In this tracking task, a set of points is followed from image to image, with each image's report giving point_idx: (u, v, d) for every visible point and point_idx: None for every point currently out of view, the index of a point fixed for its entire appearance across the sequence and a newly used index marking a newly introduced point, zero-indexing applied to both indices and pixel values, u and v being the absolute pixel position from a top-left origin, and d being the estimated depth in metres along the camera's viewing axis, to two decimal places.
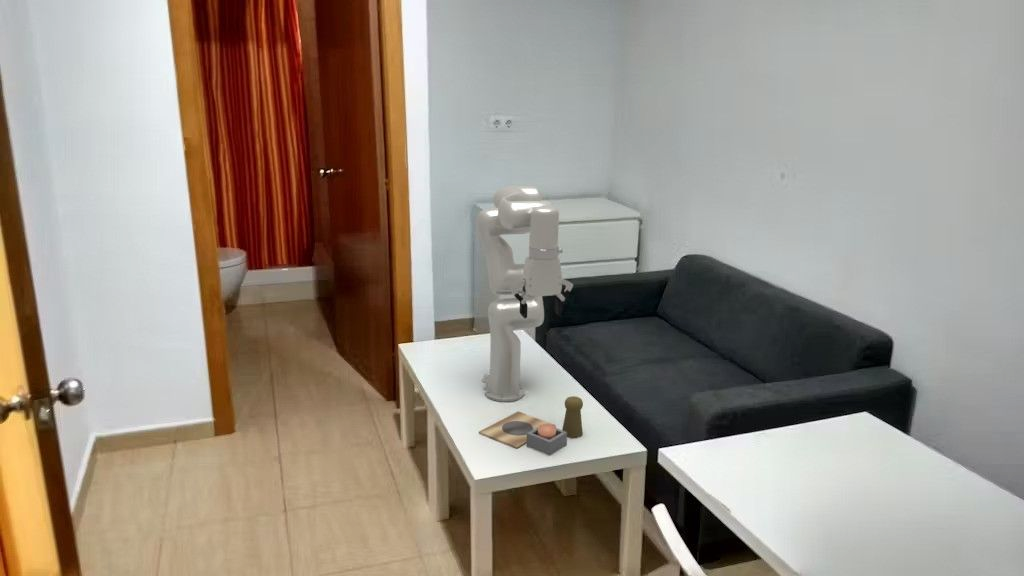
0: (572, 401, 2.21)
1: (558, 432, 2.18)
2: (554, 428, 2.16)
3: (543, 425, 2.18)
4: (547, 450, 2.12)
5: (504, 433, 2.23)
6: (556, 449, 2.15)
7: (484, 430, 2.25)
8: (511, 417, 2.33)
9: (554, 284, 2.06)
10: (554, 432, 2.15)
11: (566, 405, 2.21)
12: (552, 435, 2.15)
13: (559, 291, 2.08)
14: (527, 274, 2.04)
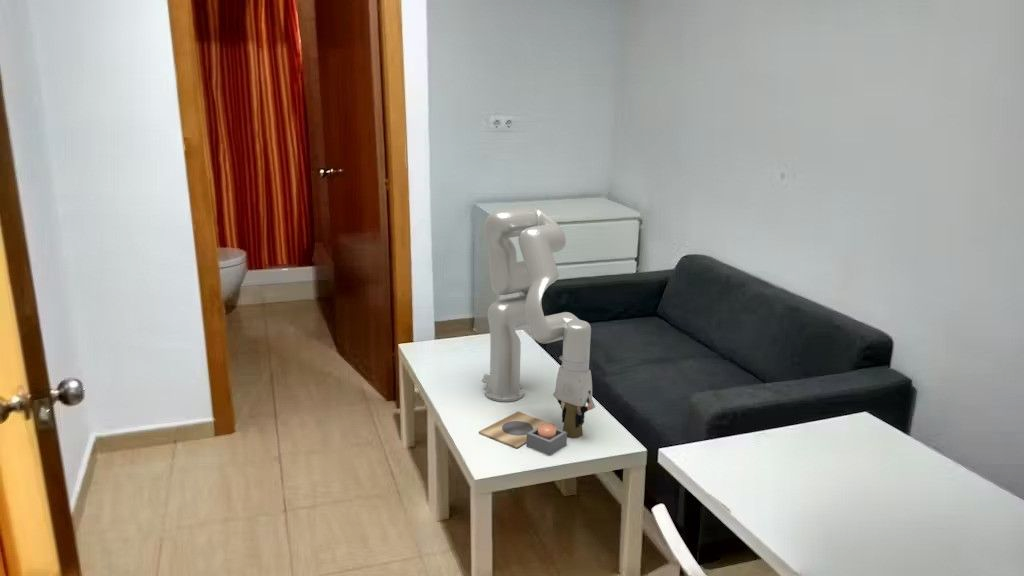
0: None
1: (558, 432, 2.18)
2: (554, 428, 2.16)
3: (543, 425, 2.18)
4: (547, 450, 2.12)
5: (504, 433, 2.23)
6: (556, 449, 2.15)
7: (484, 430, 2.25)
8: (511, 417, 2.33)
9: None
10: (554, 432, 2.15)
11: (566, 405, 2.21)
12: (552, 435, 2.15)
13: None
14: (591, 383, 2.19)
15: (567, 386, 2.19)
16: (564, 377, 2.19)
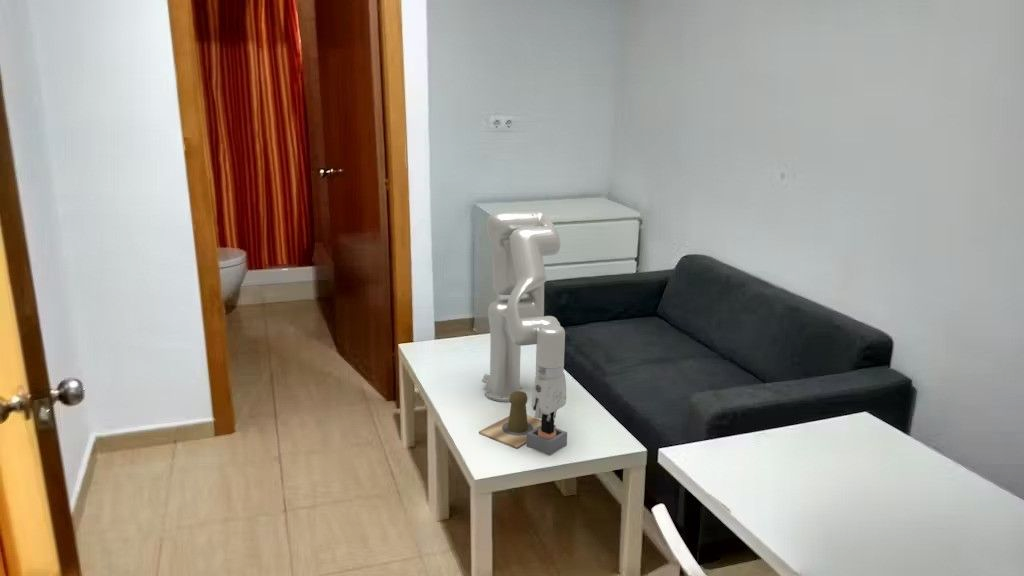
0: (516, 396, 2.22)
1: (558, 432, 2.18)
2: (554, 432, 2.16)
3: None
4: (547, 450, 2.12)
5: (504, 433, 2.23)
6: (556, 449, 2.15)
7: (484, 430, 2.25)
8: None
9: None
10: (554, 436, 2.15)
11: (510, 400, 2.22)
12: None
13: None
14: None
15: (555, 394, 2.11)
16: (553, 386, 2.09)
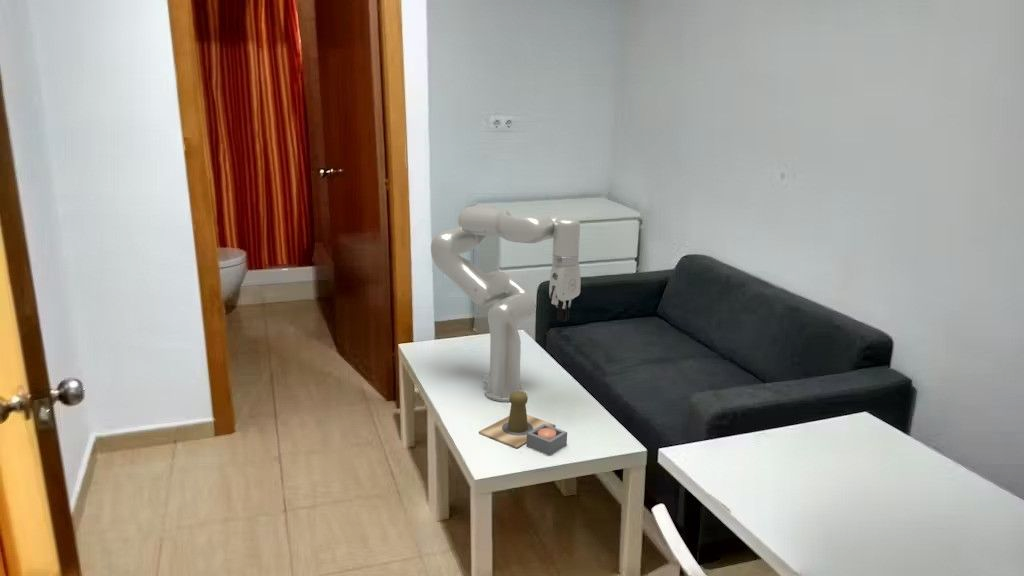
0: (516, 396, 2.22)
1: (558, 432, 2.18)
2: (554, 432, 2.16)
3: (543, 429, 2.18)
4: (547, 450, 2.12)
5: (504, 433, 2.23)
6: (556, 449, 2.15)
7: (484, 430, 2.25)
8: None
9: None
10: (554, 436, 2.15)
11: (510, 400, 2.22)
12: None
13: None
14: None
15: (571, 282, 2.26)
16: (569, 274, 2.25)
